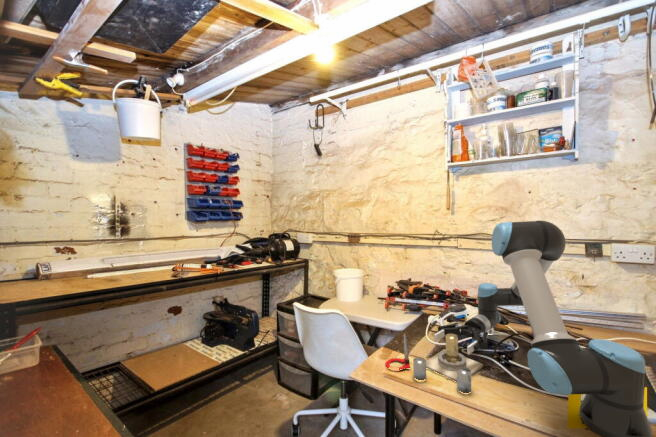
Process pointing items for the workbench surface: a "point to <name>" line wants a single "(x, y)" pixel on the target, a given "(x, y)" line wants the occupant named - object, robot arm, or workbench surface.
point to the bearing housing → (451, 365)
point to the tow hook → (405, 360)
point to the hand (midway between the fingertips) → (450, 344)
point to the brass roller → (452, 348)
